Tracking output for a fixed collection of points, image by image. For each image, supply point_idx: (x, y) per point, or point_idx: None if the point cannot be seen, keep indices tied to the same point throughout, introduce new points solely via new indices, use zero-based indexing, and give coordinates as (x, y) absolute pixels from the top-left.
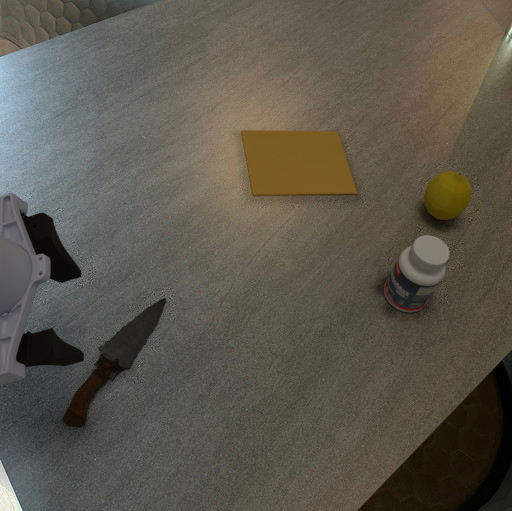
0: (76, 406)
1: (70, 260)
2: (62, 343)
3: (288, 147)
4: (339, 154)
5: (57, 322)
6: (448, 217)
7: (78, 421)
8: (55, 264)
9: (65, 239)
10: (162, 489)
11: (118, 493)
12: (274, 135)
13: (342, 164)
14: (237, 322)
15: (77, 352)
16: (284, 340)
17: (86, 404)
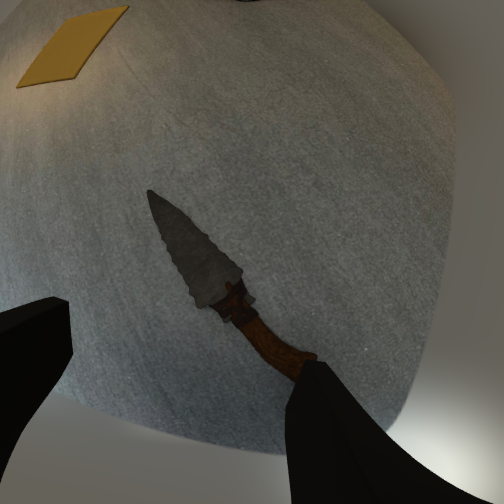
0: (296, 365)
1: (8, 319)
2: (367, 459)
3: (53, 50)
4: (86, 16)
5: (133, 352)
6: None
7: None
8: (10, 371)
9: (28, 300)
10: (425, 270)
11: (416, 326)
12: (36, 61)
13: (96, 14)
14: (220, 113)
15: (331, 384)
16: (265, 75)
17: (293, 349)
